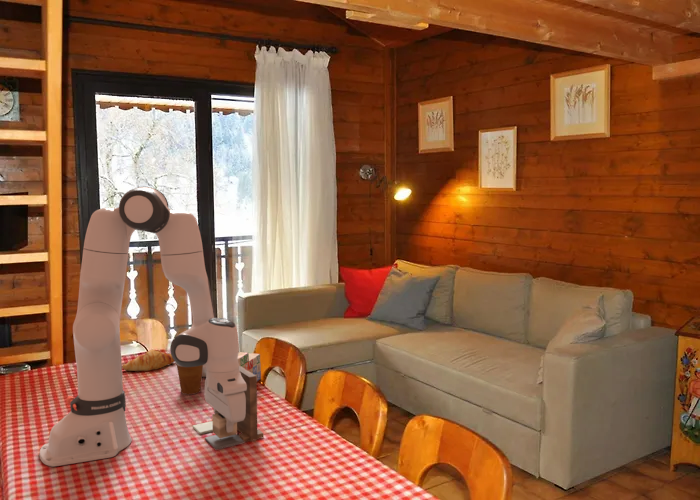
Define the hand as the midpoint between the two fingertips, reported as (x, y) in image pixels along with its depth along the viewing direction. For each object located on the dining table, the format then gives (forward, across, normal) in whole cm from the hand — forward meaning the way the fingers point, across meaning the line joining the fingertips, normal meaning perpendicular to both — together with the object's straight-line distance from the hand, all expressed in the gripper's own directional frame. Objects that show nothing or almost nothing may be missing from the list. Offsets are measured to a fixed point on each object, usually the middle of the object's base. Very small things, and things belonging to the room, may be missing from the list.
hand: (224, 427), depth 169 cm
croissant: (+4, -79, +3) cm, 79 cm away
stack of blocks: (+4, -38, +21) cm, 44 cm away
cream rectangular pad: (+4, -11, 0) cm, 12 cm away
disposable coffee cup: (+4, -44, +6) cm, 44 cm away
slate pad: (+4, 0, 0) cm, 4 cm away
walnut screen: (+4, -5, +7) cm, 9 cm away
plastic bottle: (+4, -57, +15) cm, 59 cm away
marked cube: (+2, 0, 0) cm, 2 cm away
